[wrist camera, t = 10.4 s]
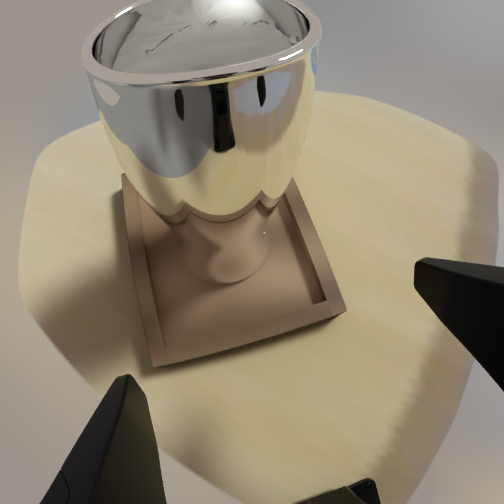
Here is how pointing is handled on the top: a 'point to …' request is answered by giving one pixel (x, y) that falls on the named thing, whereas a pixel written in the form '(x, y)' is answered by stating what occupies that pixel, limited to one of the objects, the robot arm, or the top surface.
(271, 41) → the silver metal tumbler
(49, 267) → the top surface
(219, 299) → the walnut tray
